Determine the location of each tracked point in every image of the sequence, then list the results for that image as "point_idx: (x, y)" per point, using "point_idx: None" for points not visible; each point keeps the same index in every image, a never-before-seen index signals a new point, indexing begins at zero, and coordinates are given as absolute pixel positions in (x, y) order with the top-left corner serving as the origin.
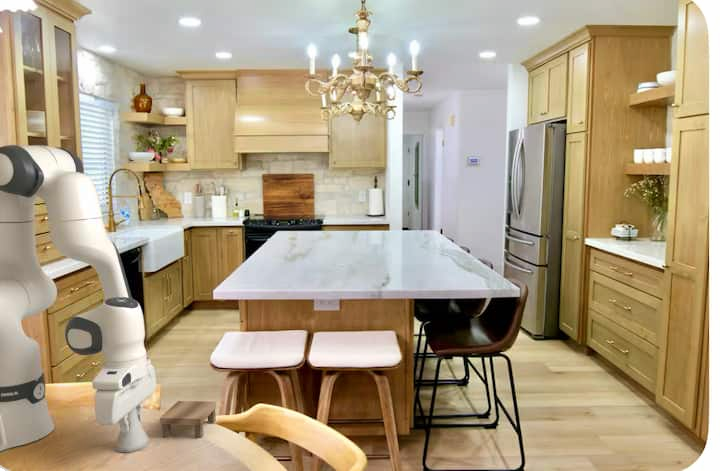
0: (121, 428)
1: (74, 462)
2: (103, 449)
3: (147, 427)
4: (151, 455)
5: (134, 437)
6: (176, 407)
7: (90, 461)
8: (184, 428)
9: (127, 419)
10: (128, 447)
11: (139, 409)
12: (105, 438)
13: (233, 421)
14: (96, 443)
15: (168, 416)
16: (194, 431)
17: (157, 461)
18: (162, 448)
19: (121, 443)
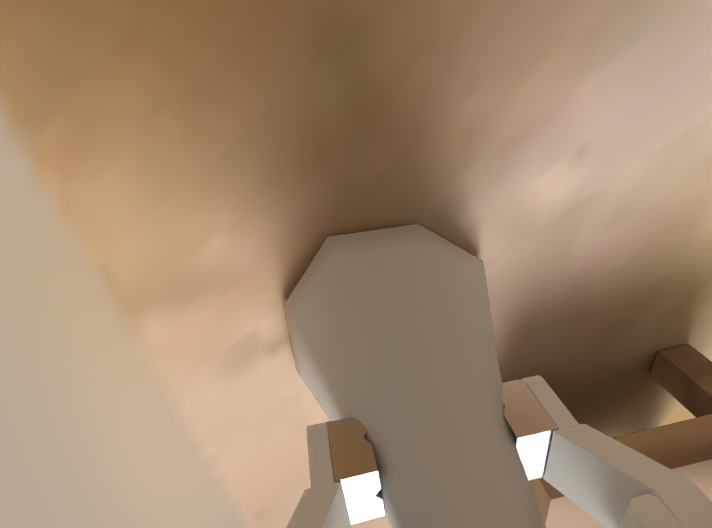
0: (310, 462)
1: (14, 66)
2: (298, 157)
3: (632, 233)
4: (305, 451)
5: None
6: (705, 480)
7: (104, 198)
8: (585, 410)
9: (396, 521)
10: (302, 372)
11: (597, 509)
12: (478, 23)
13: None
14: (381, 3)
15: (567, 522)
16: None
17: (262, 498)
18: None
19: (305, 343)
